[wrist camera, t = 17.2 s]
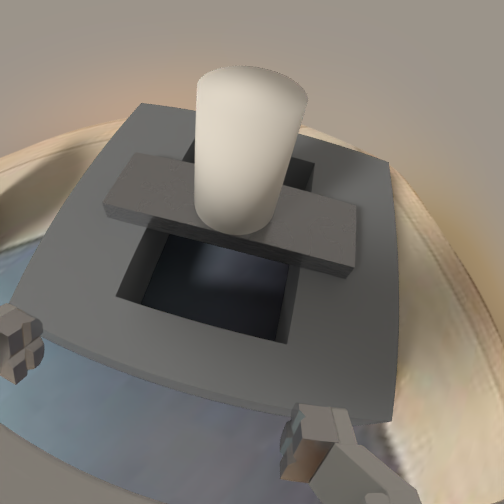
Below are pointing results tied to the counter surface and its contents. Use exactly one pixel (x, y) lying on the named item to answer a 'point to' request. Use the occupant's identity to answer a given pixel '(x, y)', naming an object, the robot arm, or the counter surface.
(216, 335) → the gray square frame block
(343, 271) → the flat gray rectangular bar
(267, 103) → the tapered cream cylinder
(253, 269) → the counter surface
